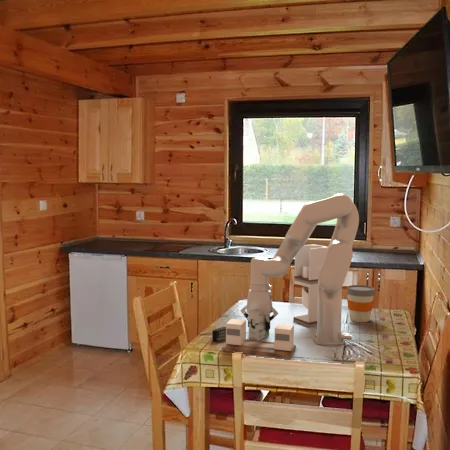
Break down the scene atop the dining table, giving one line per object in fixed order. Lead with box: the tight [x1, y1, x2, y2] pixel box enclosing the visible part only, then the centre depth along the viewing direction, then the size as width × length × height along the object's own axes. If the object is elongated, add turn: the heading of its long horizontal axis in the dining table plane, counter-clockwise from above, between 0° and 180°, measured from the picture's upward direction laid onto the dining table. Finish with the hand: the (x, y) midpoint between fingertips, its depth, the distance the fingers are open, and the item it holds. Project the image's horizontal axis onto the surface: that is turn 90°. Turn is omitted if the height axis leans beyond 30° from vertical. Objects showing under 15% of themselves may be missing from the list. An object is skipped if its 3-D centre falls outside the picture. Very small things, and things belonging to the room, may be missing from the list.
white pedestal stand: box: [292, 243, 328, 328], centre depth 237 cm, size 11×11×35 cm
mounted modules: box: [225, 318, 295, 351], centre depth 200 cm, size 25×7×8 cm, turn 72°
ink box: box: [248, 310, 270, 341], centre depth 216 cm, size 9×5×12 cm, turn 141°
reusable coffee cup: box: [346, 284, 376, 323], centre depth 244 cm, size 13×13×15 cm
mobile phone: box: [211, 326, 226, 342], centre depth 215 cm, size 5×3×15 cm
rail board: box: [222, 338, 297, 360], centre depth 201 cm, size 26×12×2 cm, turn 72°
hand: (258, 329), depth 216 cm, fingers closed on ink box, 6 cm apart
